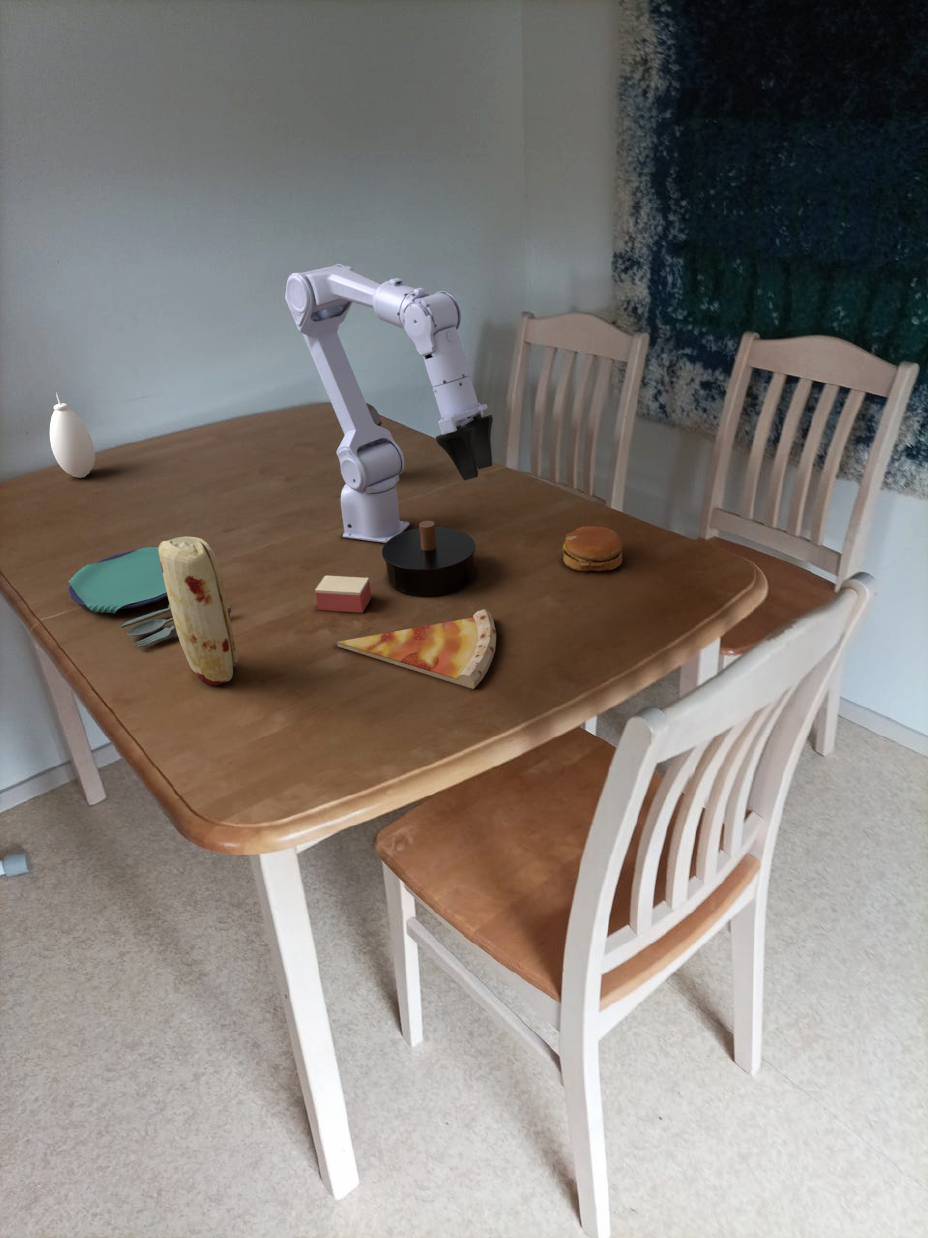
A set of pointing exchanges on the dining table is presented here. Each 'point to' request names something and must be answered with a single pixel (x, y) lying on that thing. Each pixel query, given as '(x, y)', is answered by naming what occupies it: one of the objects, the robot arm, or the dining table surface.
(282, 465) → the dining table surface
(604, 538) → the burger
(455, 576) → the pan
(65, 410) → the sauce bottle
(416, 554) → the pan lid
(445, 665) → the pizza slice
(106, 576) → the cutlery set
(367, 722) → the dining table surface
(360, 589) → the red and cream block
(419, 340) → the robot arm
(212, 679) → the food model
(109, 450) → the dining table surface
